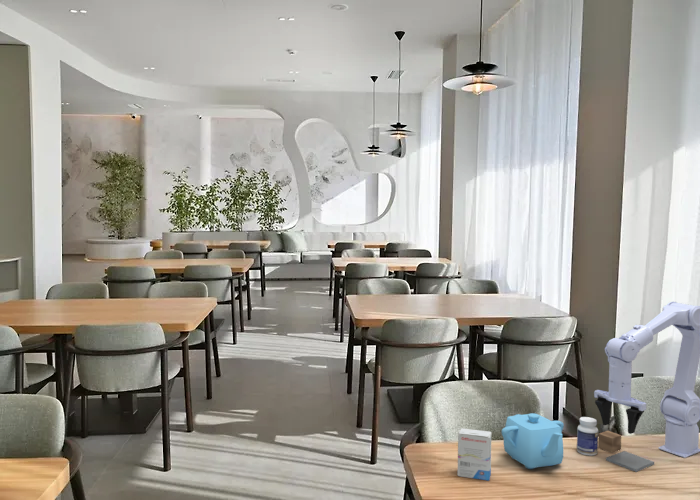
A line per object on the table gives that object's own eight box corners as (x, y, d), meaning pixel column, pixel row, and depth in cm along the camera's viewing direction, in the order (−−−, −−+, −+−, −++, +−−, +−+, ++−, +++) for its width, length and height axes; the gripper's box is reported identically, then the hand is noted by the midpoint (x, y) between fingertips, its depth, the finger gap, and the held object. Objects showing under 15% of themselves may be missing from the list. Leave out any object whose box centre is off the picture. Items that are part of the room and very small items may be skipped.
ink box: (491, 473, 160) (492, 430, 159) (489, 481, 155) (490, 437, 154) (459, 468, 163) (460, 426, 162) (456, 476, 158) (457, 433, 157)
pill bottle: (599, 457, 171) (600, 423, 170) (578, 455, 172) (579, 421, 171) (595, 449, 176) (596, 416, 176) (575, 447, 178) (576, 415, 177)
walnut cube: (607, 445, 180) (607, 430, 180) (620, 450, 176) (621, 435, 176) (598, 448, 178) (598, 433, 177) (611, 453, 174) (612, 438, 173)
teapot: (493, 464, 166) (494, 417, 165) (512, 445, 179) (513, 401, 178) (561, 480, 156) (562, 430, 155) (575, 459, 169) (576, 413, 169)
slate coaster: (624, 453, 173) (624, 450, 173) (654, 464, 166) (654, 461, 166) (605, 460, 168) (606, 457, 168) (635, 472, 161) (636, 469, 161)
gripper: (588, 377, 170) (587, 423, 171) (636, 390, 158) (635, 439, 159) (602, 373, 174) (601, 418, 175) (651, 385, 162) (649, 434, 163)
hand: (618, 428), depth 167 cm, fingers open, 7 cm apart
